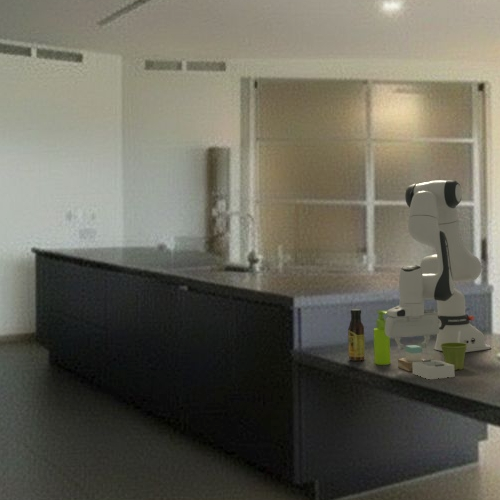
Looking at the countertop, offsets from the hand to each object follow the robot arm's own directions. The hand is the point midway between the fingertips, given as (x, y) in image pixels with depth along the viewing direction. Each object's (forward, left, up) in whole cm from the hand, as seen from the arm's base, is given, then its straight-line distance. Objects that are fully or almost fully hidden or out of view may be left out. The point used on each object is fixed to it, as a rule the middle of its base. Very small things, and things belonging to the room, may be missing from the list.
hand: (412, 348), depth 274 cm
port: (-1, +14, -7) cm, 16 cm away
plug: (-1, 0, -7) cm, 7 cm away
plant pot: (-13, +7, -8) cm, 16 cm away
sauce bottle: (+11, -24, -8) cm, 28 cm away
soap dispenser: (+5, -13, -8) cm, 16 cm away
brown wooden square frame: (-1, 0, -7) cm, 7 cm away
